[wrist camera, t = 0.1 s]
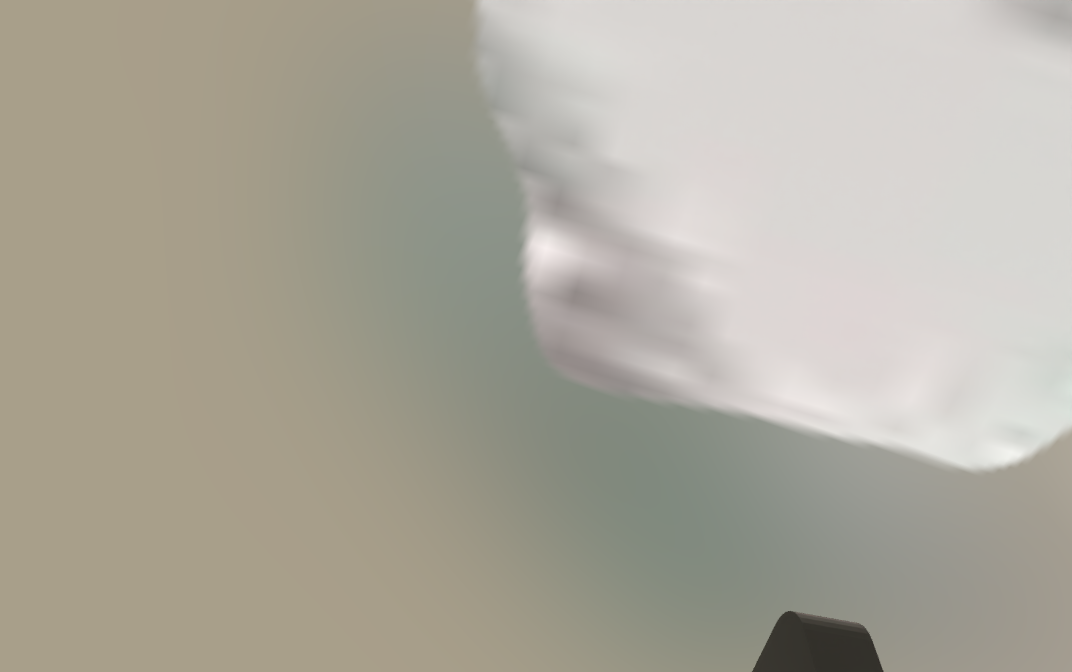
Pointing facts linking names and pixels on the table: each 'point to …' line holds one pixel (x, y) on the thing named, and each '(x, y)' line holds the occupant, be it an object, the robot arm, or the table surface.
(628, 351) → the table surface
